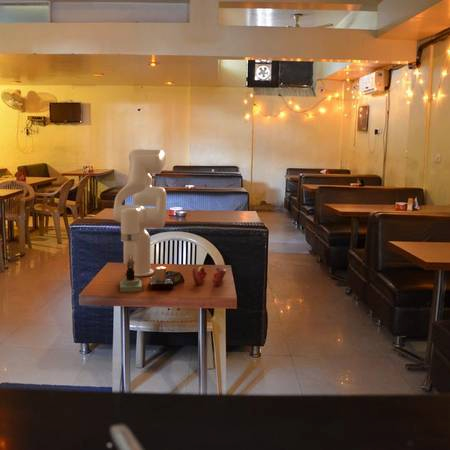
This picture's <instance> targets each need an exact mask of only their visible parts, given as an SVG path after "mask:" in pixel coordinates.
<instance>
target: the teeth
mask: <svg viewBox="0 0 450 450" xmlns="http://www.w3.org/2000/svg"><path fill="white" fill-rule="evenodd" d="M226 272H227V269H224V268H221V267H220V266H216V268H215V270H214V273H213V276H212V278H211V282H212V284H213V285H214V286H215V287H220V285H221V284H222V282H223V280H224V278H225V276H226ZM207 275H208V273H207V271H206V269H205V268H204V267H203V266H199V267H197V268H193V269H192V278H193V281H194V284H195V286H199V285H201V284H202V283H203V281H204V280H205V279H206V277H207Z"/></svg>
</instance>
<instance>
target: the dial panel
mask: <svg viewBox="0 0 450 450" xmlns="http://www.w3.org/2000/svg"><path fill="white" fill-rule="evenodd" d="M149 286H150V287H149V288H150V291H151V292H153V291H172V290H173V281H172V278H171V279H166V280H165V281H156V276H149Z"/></svg>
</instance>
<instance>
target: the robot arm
mask: <svg viewBox="0 0 450 450" xmlns="http://www.w3.org/2000/svg"><path fill="white" fill-rule="evenodd" d="M166 159H167V158H166V153H165V151H163V150H162V149H145V148H144V149H142V148H141V149H140V148H139V149H133V150H131V151H130V152H129V153H128V162H129V165H128V166H129V167H128V175H127V183H126V185H124V186H123V187H122V188H121V189H120V190H119V191H118V192H117V193H116V196H115V198H114V202H113V211H112V215H113V219H114V221H115V222H117V223H120V242H122V243H123V249H122V250H123V265H124V266H126V268H127V269H126V278H127V280H134V278H135V277H137V278H139V277H148V276H149V277H150V276H152V275H153V274H154V273H155V270H154V269H153V268H151V235H150V233H149V232H148V231H147V229H162V228H164V227H165V224H166V217H167V202H168V201H167V200H168V199H167V197H168V195H167V191H166V189H165V187H162V186H153V177H152V175H151V174H160V173H162V170H163V169H164V167H165V165H166ZM129 197H132V203H133V205H132V204H128V205H127V204H123V202H124V201H125V200H126V199H127V198H129Z"/></svg>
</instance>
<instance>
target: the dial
mask: <svg viewBox="0 0 450 450" xmlns="http://www.w3.org/2000/svg"><path fill="white" fill-rule="evenodd" d="M166 276H167V267H166V266H156V267H155V277H156V281H165V280H166Z"/></svg>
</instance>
